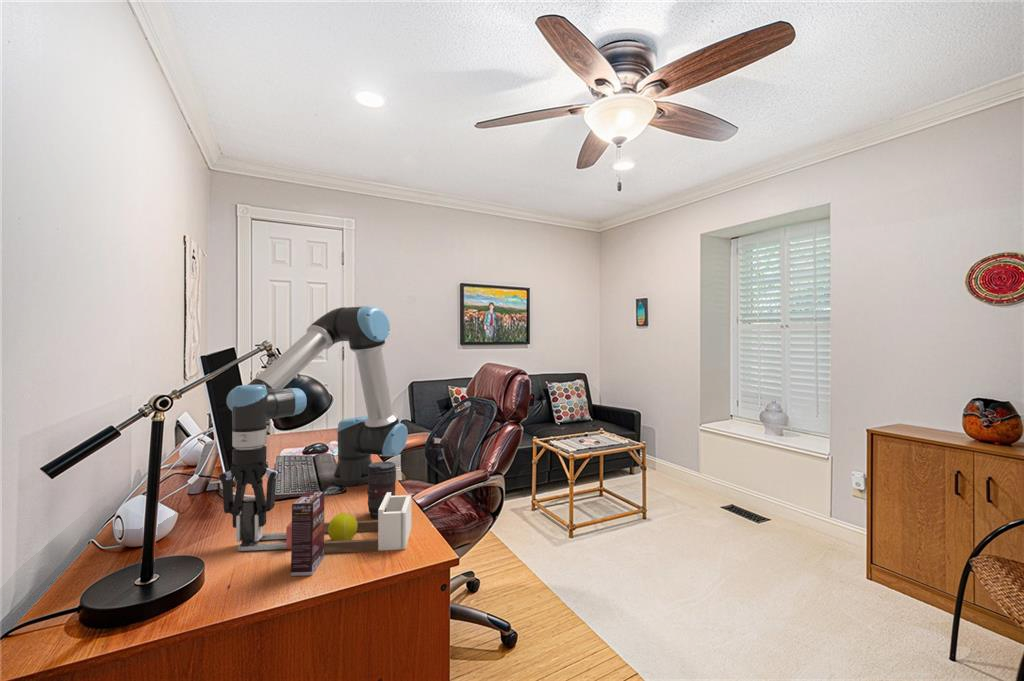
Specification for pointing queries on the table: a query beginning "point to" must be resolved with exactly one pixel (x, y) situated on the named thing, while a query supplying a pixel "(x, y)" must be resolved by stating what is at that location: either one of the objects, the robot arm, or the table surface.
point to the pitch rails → (353, 544)
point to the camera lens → (380, 484)
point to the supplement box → (307, 533)
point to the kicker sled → (249, 530)
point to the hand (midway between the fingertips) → (249, 539)
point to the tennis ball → (342, 527)
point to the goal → (394, 522)
